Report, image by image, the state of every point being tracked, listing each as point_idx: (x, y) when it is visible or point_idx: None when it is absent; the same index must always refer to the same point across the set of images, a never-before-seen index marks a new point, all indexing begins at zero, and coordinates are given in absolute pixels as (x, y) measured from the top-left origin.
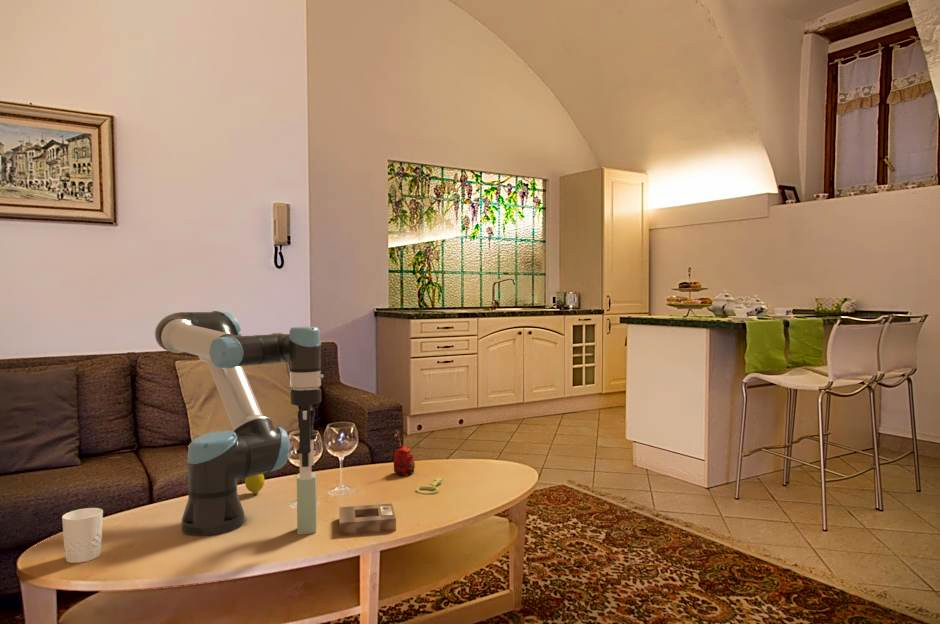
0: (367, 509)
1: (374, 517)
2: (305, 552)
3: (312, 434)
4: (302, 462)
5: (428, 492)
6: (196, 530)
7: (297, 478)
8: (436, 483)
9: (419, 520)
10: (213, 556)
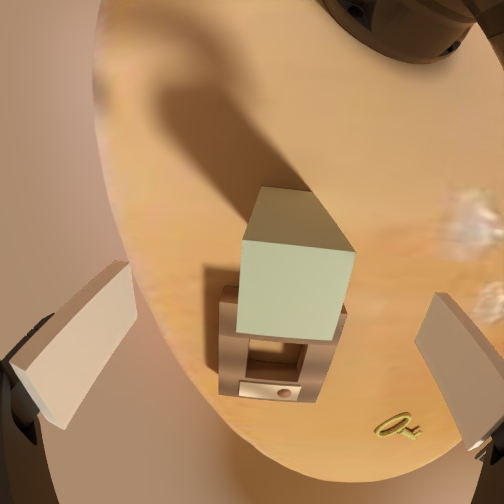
0: (302, 365)
1: (237, 369)
2: (138, 205)
3: (476, 487)
4: (32, 331)
5: (381, 427)
6: None
7: (242, 243)
8: (403, 434)
9: (262, 409)
10: (175, 10)
